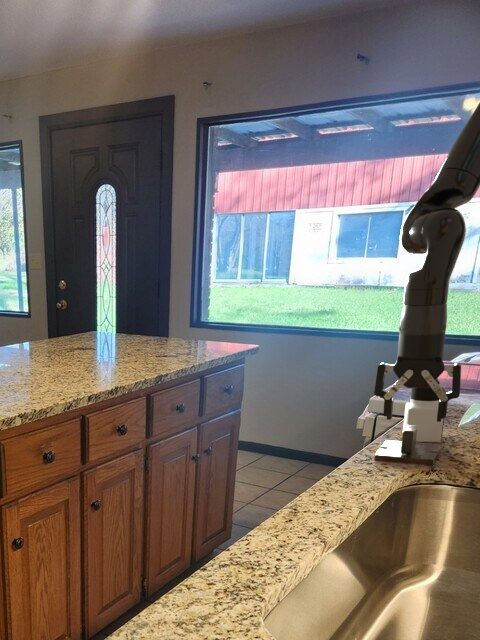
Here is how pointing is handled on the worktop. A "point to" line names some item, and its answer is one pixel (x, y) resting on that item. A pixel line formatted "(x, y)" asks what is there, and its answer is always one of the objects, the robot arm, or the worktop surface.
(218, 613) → the worktop surface
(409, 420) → the medicine bottle
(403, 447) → the dark grey upright block
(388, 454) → the panel
